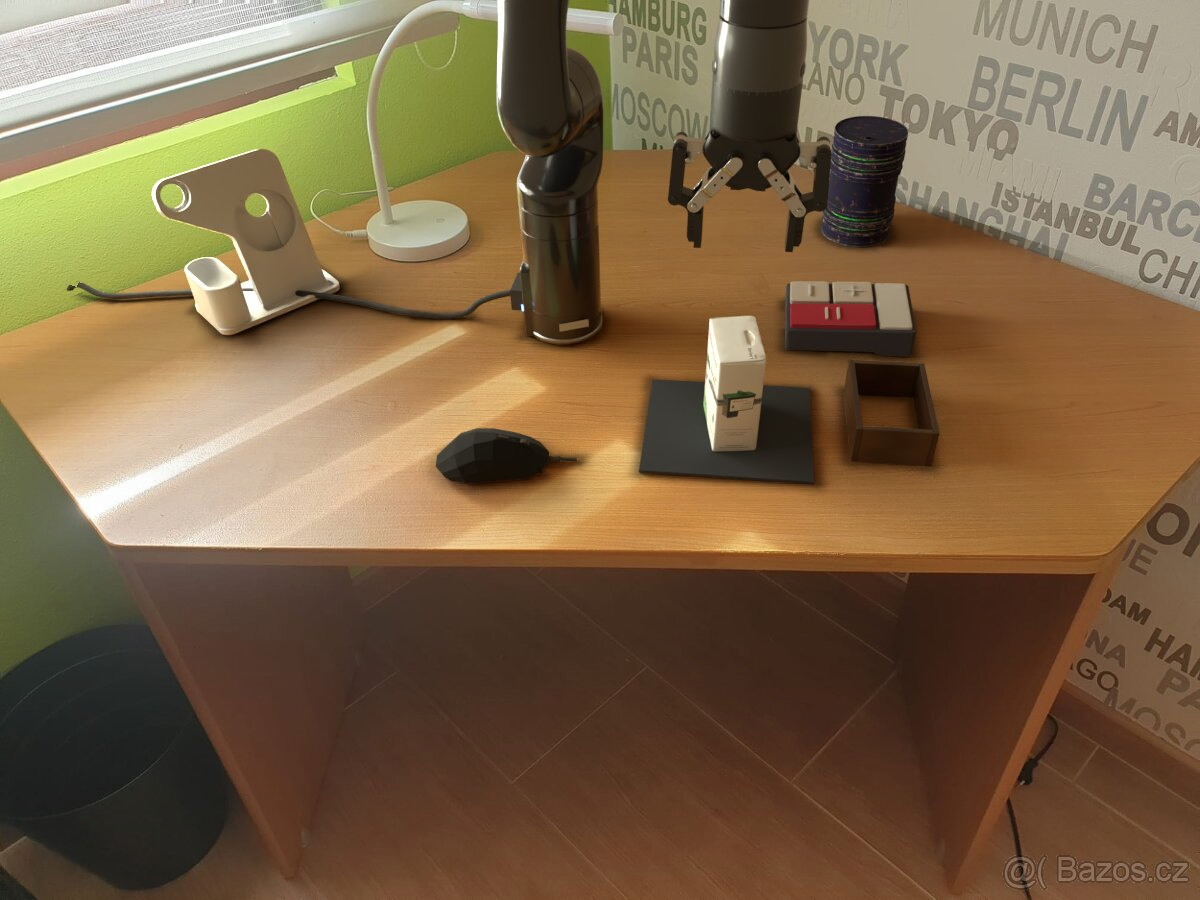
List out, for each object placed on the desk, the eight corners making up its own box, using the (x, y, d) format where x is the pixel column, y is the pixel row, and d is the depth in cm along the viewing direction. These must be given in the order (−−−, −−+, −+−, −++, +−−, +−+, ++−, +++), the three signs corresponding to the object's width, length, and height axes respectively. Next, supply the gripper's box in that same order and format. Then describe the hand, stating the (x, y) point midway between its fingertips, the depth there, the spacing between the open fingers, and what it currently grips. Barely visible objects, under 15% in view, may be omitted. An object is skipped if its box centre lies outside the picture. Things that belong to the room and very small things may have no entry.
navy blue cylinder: (826, 211, 143) (840, 112, 133) (894, 219, 140) (912, 119, 130) (814, 242, 136) (828, 140, 126) (885, 251, 133) (905, 148, 123)
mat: (638, 473, 100) (638, 470, 99) (652, 381, 112) (652, 379, 111) (814, 484, 98) (814, 481, 97) (808, 390, 110) (809, 387, 109)
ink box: (701, 403, 108) (706, 314, 100) (746, 401, 108) (754, 312, 100) (711, 453, 101) (717, 362, 93) (758, 451, 101) (768, 359, 93)
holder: (850, 461, 100) (857, 428, 97) (843, 391, 109) (848, 359, 106) (931, 466, 99) (940, 433, 96) (917, 395, 108) (924, 363, 105)
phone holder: (222, 338, 121) (177, 207, 109) (190, 307, 127) (144, 180, 115) (343, 288, 129) (313, 162, 118) (307, 262, 135) (275, 138, 124)
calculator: (786, 277, 121) (909, 278, 119) (785, 306, 124) (904, 307, 122) (786, 324, 113) (917, 326, 111) (784, 354, 116) (913, 357, 114)
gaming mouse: (578, 480, 99) (576, 451, 96) (435, 488, 99) (429, 459, 96) (576, 441, 104) (574, 412, 101) (439, 448, 103) (434, 419, 101)
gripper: (842, 59, 82) (817, 231, 92) (676, 54, 83) (670, 224, 94) (847, 91, 76) (820, 270, 87) (669, 85, 78) (664, 262, 88)
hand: (742, 246), depth 90 cm, fingers open, 8 cm apart
